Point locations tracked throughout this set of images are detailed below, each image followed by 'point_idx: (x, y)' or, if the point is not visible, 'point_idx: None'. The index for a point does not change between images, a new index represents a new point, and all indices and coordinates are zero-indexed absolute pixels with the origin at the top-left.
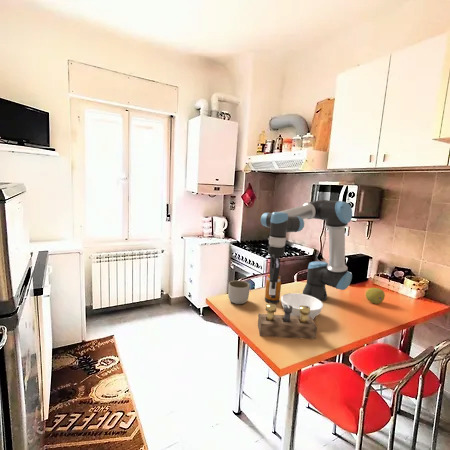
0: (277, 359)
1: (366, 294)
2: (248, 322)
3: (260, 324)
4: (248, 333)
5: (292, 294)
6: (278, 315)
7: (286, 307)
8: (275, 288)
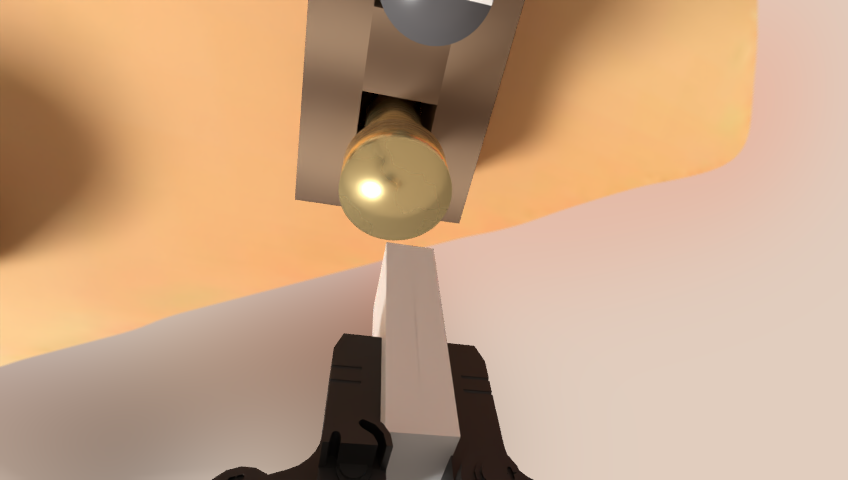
0: (686, 153)
1: None
2: (277, 208)
3: None
4: None
5: None
6: (320, 22)
7: (462, 22)
8: (441, 326)
